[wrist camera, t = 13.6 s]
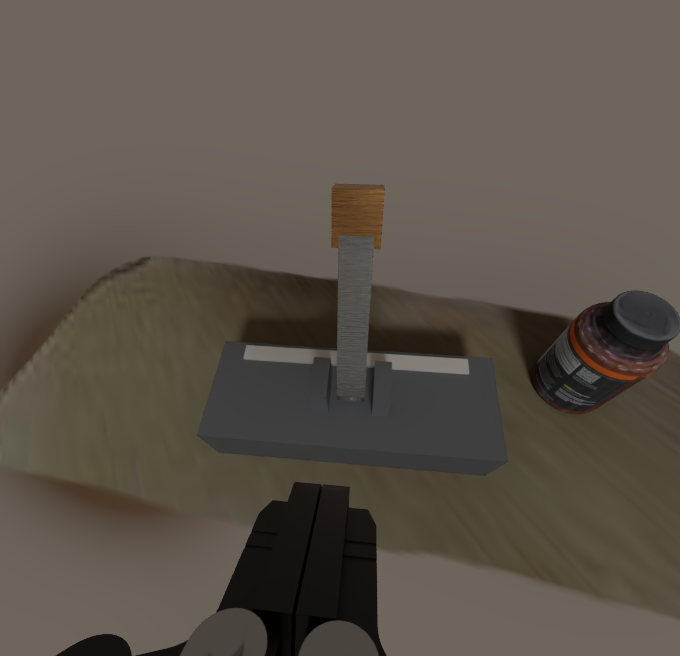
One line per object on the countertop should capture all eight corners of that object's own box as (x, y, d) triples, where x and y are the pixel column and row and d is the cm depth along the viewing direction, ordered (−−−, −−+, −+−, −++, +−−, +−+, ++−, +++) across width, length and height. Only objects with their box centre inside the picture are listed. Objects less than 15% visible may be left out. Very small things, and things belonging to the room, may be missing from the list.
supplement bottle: (594, 362, 34) (689, 286, 24) (603, 423, 31) (716, 363, 21) (528, 350, 35) (594, 271, 25) (529, 408, 32) (606, 343, 22)
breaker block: (474, 383, 33) (505, 338, 26) (485, 475, 29) (525, 450, 22) (241, 367, 35) (213, 321, 28) (218, 452, 30) (180, 422, 24)
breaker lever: (369, 391, 28) (384, 185, 20) (369, 407, 26) (384, 189, 19) (333, 389, 28) (335, 183, 21) (331, 405, 26) (331, 188, 19)
